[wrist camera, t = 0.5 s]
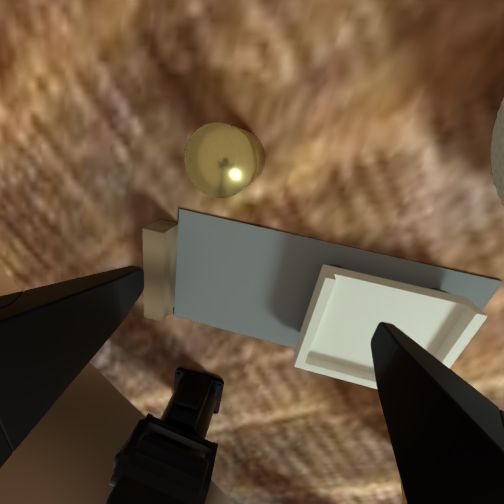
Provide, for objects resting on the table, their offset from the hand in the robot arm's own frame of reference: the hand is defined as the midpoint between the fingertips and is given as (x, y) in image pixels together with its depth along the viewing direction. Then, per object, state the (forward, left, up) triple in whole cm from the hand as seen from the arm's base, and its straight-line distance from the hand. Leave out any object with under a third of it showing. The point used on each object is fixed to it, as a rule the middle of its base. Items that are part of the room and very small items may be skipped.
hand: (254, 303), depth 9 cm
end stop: (-8, +10, -14) cm, 19 cm away
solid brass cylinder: (+4, +4, -14) cm, 15 cm away
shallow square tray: (-8, -11, -14) cm, 19 cm away
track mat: (-8, -5, -14) cm, 17 cm away
